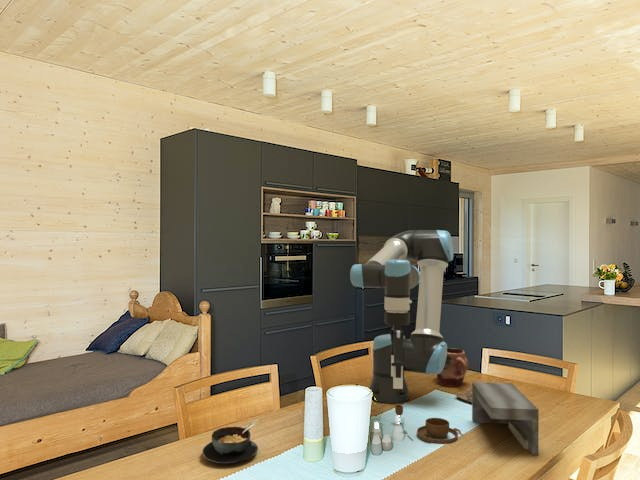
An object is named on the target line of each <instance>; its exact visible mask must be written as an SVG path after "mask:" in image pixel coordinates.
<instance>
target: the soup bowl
mask: <svg viewBox="0 0 640 480" xmlns="http://www.w3.org/2000/svg"><path fill="white" fill-rule="evenodd" d="M259 421H260V419H256V420H254V421H253V422H252V423H250V424H249V425H248V426H246V427H241V426H225V427H221V428H218V429H216V430H214V431H213V432H212V434H211V441H209V442H208V443H207V444H205V445H204V447H203V448H202V450H201V451H202V457H203V458H204V459H206V460H208V461H210V462H212V463H215V464H216V463H217V464H232V463H238V462H242V461H246V460H247V459H249V458H251V457H253V456H255V455H256V454H257V453H258V451H259V447H258V445H257V443H255V442H254V441H253V440H251V432H250V430H251V428H252V427H253V426H255V425H256V424H257V423H258V422H259Z"/></svg>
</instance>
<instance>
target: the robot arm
mask: <svg viewBox="0 0 640 480" xmlns="http://www.w3.org/2000/svg"><path fill="white" fill-rule="evenodd" d="M410 260H413V261H416V264H417V265H418V266H419V268H420V270H419V269H418V268H417V267H416V266H415V265H412V264H411V262H410ZM453 260H454V245H453V240H452V236H451V233H450V232H449V231H447V230H440V229H436V230H435V229H434V230H433V229H428V230H425V229H423V230H421V229H419V230H414V229H413V230H412V229H411V230H406V231H402V232H400V233H397V234H396V235H395V234H394V236H391V237H390V238H389V239H388V240H386V242H384V244H383V247H382V248H381V249H380V250H379V251H378V252H377V253H375V254H374V255H373V256H372V257H371V258H370V259H369V260H368V261H367V262H366V263H365V264H363V263H362V264H361V263H358V264H356V263H355V264H353V265H352V266H351V268H350V270H349V271H350V273H349V278H350V279H349V280H350V282H351V285H352V286H354V287H359V288H363V289H364V288H371V289H372V288H373V289H374V288H376V289H379V288H380V289H384V303H383V304H384V308H383V309H384V310H385V312H384V324H385V325H388V326H391V329H390V331H389V333H387V334H381V335H378V336H375V338H374V339H373V343H372V344H373V345H372V378H371V381H370V383H369V386H368V389H369V388H371V389H372V392H373V397H375V398H376V400H377V401H376V402H378V403H383V404H398V403H403V402H407V401H408V400H410V391H409V388H408V384H407V381H406V378H405V372H409V373H410V372H411V373H419V374H426V375H437V374H439V373H441V372H442V370H443V368H444V365H445V362H446V357H447V348H448V344H447V342H445V341H444V337H443V335H442V334H441V333H440V325H441V312H442V299H443V298H442V297H443V286H444V285H443V283H444V271H445V269H446V268H448V267H449V262H452V261H453ZM416 286H418V294H417V295H418V296H417V297H418V298H417V308H416V309H417V310H416V319H415V320H416V321H415V330H414V331H412V332H411V333H410V338H406V336H405V331H404V329H402V327H403V326H404V327H405V326H409V325H410V323H411V314H410V312H409V311H411V305H410V304H412V303H413V300H411V299H410V297H411V290H412V289H414V288H415V287H416Z"/></svg>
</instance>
